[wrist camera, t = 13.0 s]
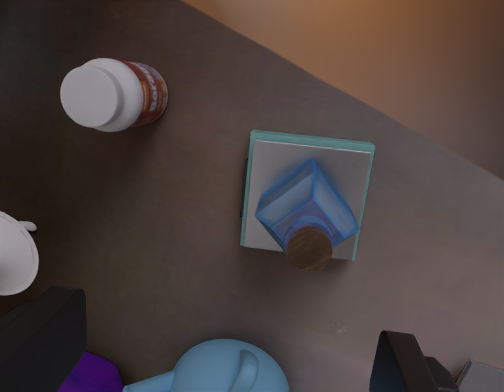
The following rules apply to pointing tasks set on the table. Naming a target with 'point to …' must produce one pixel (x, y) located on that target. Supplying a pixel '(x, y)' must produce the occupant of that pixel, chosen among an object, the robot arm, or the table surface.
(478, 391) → the desk lamp
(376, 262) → the table surface
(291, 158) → the pan
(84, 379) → the purple teardrop shape
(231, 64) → the table surface
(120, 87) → the pill bottle
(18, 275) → the figurine
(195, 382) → the teapot
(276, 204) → the perfume bottle
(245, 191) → the scale
